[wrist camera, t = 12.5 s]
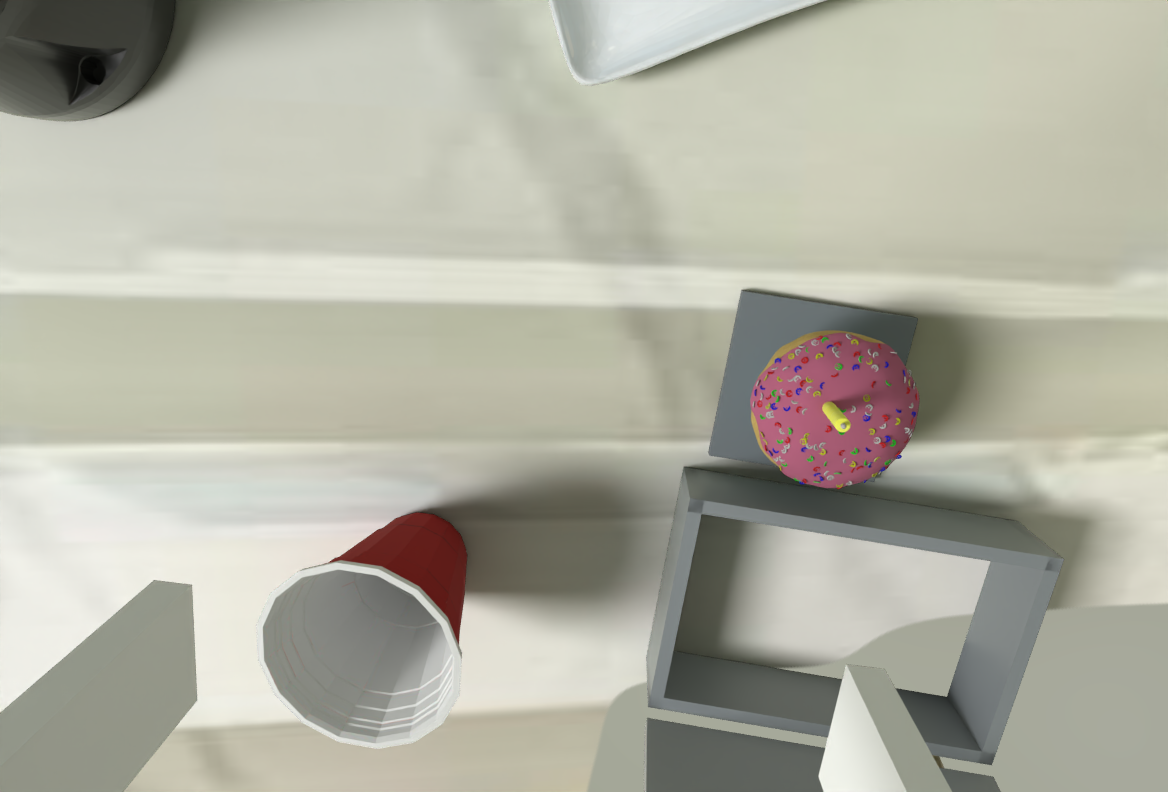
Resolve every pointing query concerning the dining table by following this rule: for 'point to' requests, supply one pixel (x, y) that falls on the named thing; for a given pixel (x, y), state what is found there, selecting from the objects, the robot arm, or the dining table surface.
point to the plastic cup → (371, 635)
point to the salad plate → (649, 30)
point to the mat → (762, 334)
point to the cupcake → (834, 408)
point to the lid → (746, 763)
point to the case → (809, 701)
